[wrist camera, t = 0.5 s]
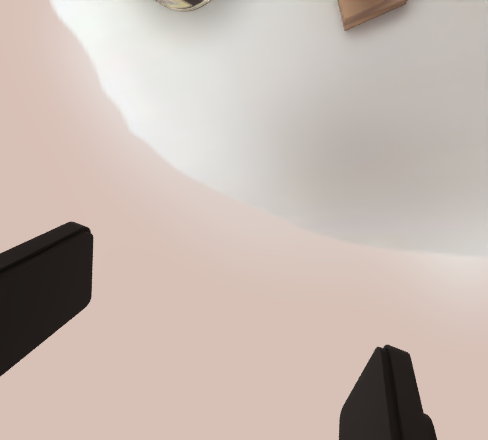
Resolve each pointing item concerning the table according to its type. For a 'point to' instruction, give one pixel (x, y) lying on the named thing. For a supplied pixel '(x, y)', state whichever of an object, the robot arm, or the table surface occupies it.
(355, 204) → the table surface
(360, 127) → the table surface
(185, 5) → the coffee can
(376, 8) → the walnut block
